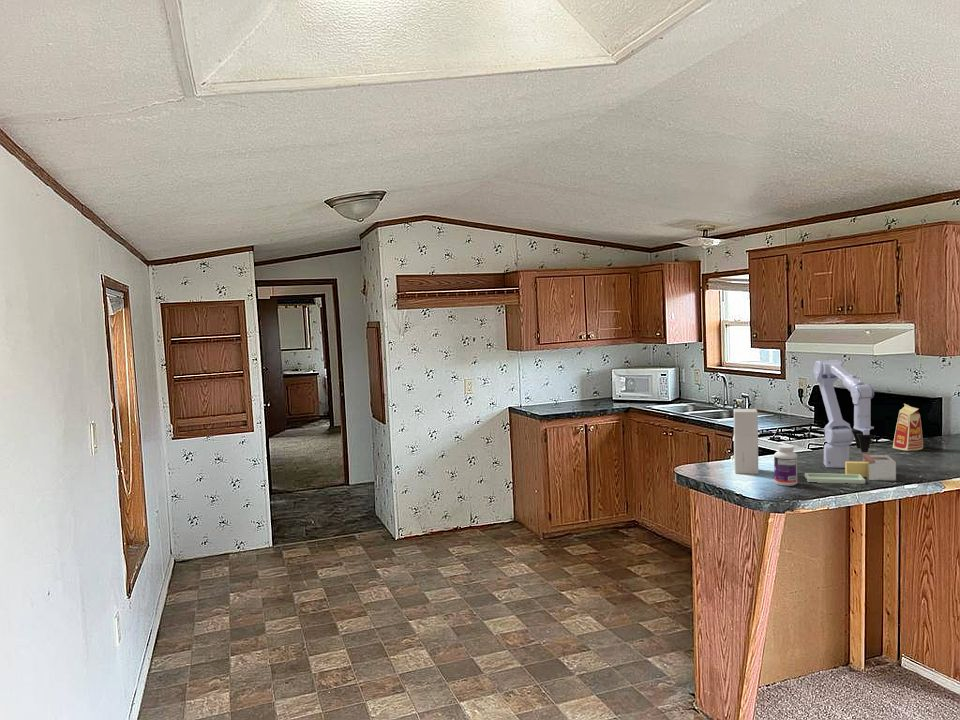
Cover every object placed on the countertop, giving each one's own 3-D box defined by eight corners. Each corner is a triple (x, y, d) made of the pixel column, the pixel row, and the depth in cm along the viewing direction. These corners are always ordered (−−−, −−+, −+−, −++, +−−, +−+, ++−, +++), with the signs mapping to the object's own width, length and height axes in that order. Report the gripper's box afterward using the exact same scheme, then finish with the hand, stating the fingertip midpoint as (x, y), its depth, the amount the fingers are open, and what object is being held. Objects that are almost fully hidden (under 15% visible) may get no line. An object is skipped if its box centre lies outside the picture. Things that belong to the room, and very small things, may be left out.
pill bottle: (778, 480, 297) (778, 443, 295) (800, 483, 291) (800, 445, 290) (771, 484, 290) (770, 446, 289) (793, 487, 285) (793, 448, 284)
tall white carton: (735, 473, 311) (734, 411, 309) (734, 468, 319) (733, 408, 317) (758, 474, 308) (757, 411, 306) (756, 469, 317) (756, 408, 315)
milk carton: (892, 447, 349) (892, 403, 347) (908, 446, 352) (908, 402, 350) (909, 451, 340) (909, 406, 339) (925, 449, 343) (925, 404, 341)
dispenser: (869, 479, 292) (869, 460, 292) (862, 472, 305) (862, 453, 304) (895, 480, 290) (895, 461, 289) (887, 472, 302) (887, 454, 302)
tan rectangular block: (846, 477, 299) (846, 462, 298) (845, 475, 302) (845, 461, 301) (880, 477, 296) (881, 463, 295) (879, 476, 299) (879, 461, 298)
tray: (808, 482, 292) (808, 478, 292) (804, 476, 301) (804, 472, 301) (865, 484, 286) (865, 480, 286) (860, 478, 296) (860, 474, 296)
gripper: (878, 418, 292) (878, 454, 293) (869, 412, 306) (869, 446, 307) (857, 418, 293) (857, 453, 294) (849, 412, 307) (849, 446, 308)
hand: (862, 450), depth 301 cm, fingers open, 7 cm apart
